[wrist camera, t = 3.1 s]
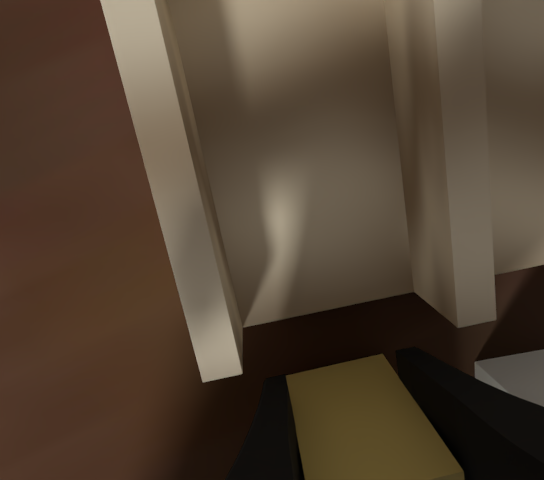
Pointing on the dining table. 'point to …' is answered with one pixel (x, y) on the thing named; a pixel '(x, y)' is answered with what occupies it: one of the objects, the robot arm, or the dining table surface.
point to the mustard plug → (365, 426)
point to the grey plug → (515, 375)
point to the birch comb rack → (335, 153)
